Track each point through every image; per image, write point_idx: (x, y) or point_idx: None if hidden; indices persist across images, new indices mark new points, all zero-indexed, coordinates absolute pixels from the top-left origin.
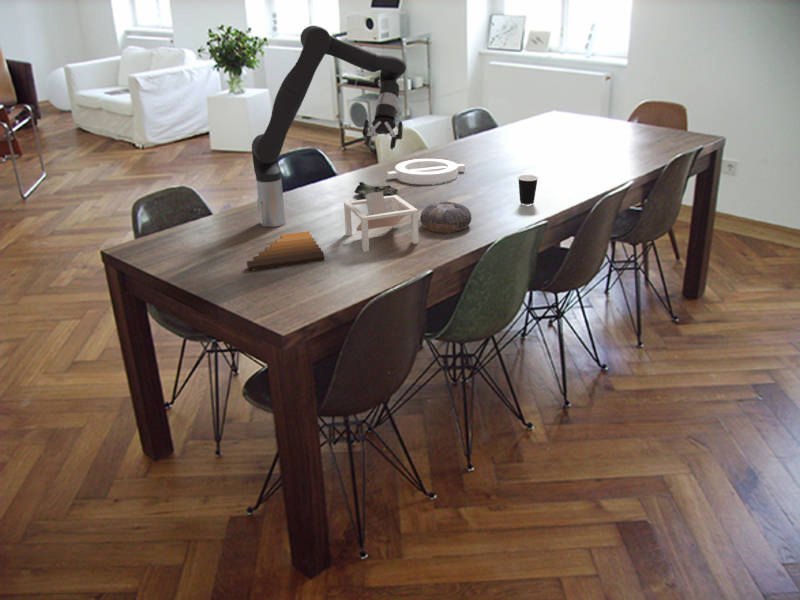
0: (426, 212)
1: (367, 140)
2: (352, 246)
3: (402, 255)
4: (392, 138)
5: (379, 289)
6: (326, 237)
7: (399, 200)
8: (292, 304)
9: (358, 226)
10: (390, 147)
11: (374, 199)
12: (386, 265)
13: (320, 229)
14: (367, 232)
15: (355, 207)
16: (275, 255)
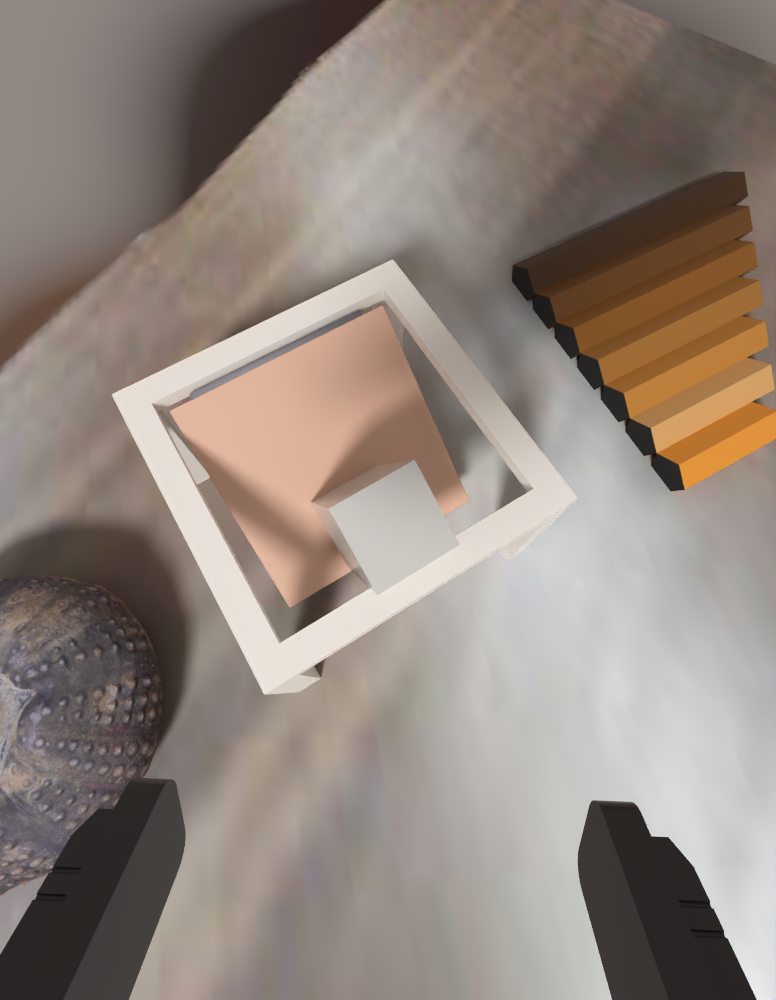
0: (100, 652)
1: (698, 945)
2: (451, 411)
3: None
4: (40, 983)
5: (283, 114)
6: (596, 502)
7: (230, 562)
8: (489, 34)
9: (451, 463)
10: (173, 783)
11: (379, 474)
12: (286, 258)
13: (669, 607)
14: None
15: (476, 409)
16: (682, 232)
